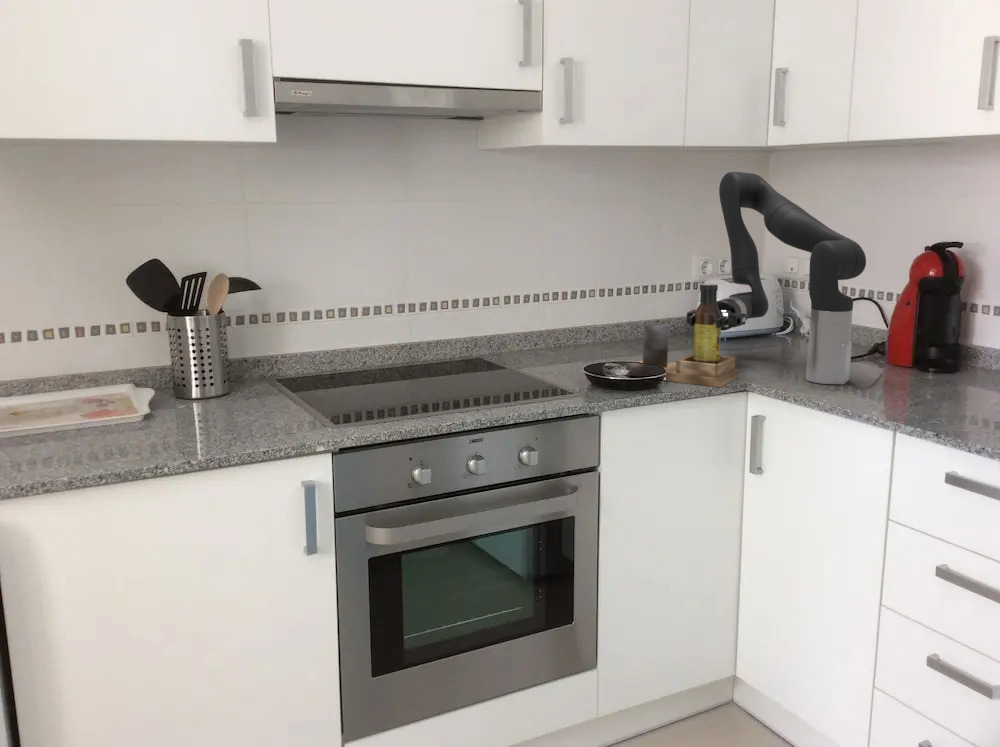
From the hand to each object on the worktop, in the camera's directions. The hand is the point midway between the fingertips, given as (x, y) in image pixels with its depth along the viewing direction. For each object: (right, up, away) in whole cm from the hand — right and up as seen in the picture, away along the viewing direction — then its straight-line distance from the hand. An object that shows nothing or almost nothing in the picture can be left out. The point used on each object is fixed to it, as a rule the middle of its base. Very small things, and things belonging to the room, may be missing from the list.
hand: (704, 322), depth 209 cm
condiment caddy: (-4, -13, +8) cm, 16 cm away
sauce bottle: (+1, -11, +4) cm, 11 cm away
